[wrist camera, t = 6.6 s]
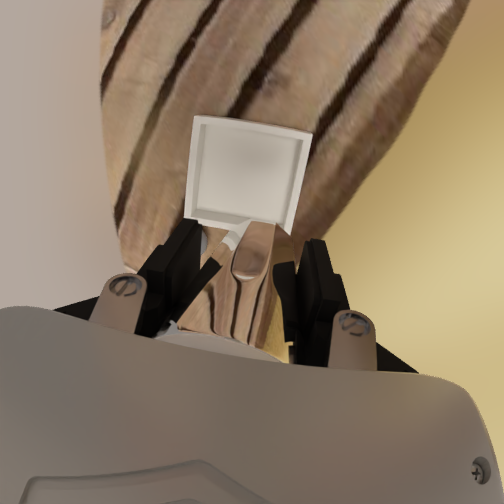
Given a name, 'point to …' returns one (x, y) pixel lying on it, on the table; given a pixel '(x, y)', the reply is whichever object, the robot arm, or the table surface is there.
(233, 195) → the tray
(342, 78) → the table surface
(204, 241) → the ball
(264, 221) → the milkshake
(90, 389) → the robot arm
